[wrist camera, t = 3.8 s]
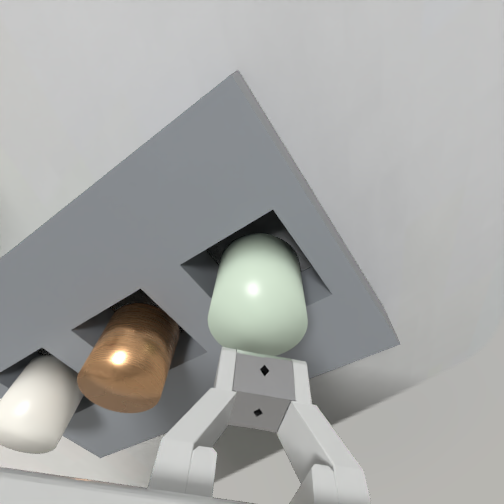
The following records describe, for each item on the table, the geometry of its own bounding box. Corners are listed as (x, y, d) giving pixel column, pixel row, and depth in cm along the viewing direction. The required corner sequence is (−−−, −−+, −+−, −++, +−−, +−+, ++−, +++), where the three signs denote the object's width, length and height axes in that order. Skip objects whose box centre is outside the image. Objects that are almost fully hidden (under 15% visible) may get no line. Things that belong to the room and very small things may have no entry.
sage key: (249, 309, 18) (245, 369, 14) (203, 258, 16) (187, 312, 13) (313, 278, 16) (325, 335, 13) (271, 218, 15) (272, 266, 11)
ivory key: (63, 401, 23) (29, 459, 20) (15, 369, 21) (-32, 427, 18) (102, 382, 22) (72, 442, 18) (53, 346, 20) (10, 405, 17)
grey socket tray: (115, 420, 28) (100, 458, 25) (-57, 304, 21) (-100, 338, 19) (383, 306, 20) (400, 344, 17) (238, 70, 14) (231, 74, 11)
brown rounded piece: (144, 361, 20) (121, 421, 17) (96, 321, 19) (59, 379, 15) (193, 337, 19) (177, 397, 16) (145, 292, 17) (117, 349, 14)
